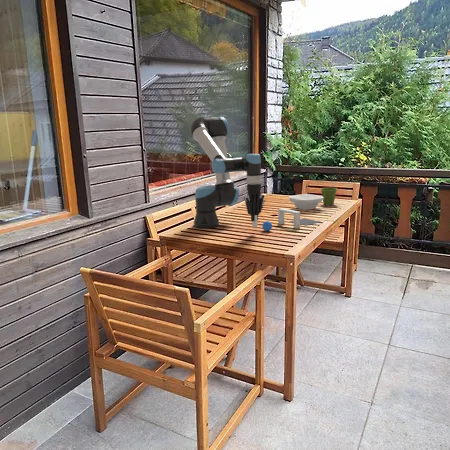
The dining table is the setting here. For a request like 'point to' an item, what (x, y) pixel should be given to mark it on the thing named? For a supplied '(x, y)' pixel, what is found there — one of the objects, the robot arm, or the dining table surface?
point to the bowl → (306, 201)
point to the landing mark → (307, 221)
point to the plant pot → (328, 195)
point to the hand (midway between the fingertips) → (254, 226)
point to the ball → (267, 225)
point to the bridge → (296, 213)
